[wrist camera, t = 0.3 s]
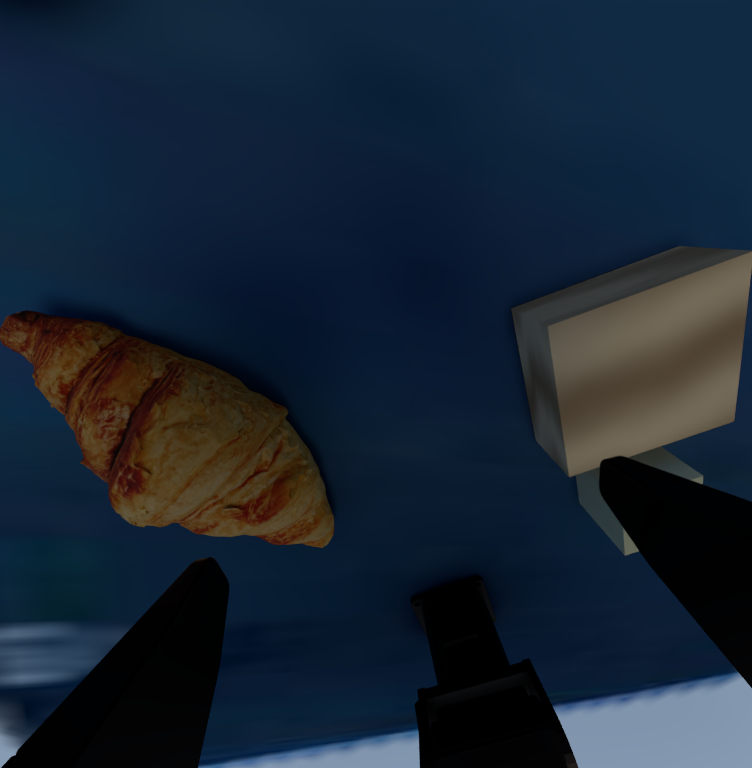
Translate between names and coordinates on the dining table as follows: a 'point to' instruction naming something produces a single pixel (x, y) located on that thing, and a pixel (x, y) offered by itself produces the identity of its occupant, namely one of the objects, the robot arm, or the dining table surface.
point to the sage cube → (602, 512)
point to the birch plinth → (635, 355)
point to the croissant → (175, 434)
